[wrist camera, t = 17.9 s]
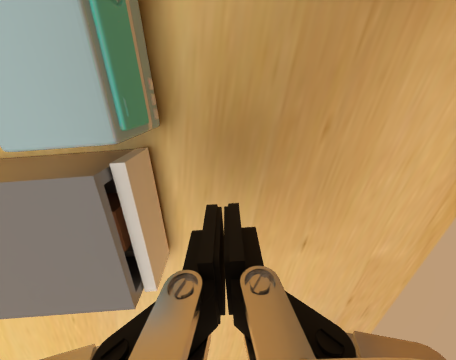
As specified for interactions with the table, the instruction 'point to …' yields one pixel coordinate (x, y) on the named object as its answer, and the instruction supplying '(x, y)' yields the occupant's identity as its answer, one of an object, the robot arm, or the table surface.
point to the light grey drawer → (141, 214)
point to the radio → (73, 74)
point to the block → (119, 220)
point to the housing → (62, 238)
